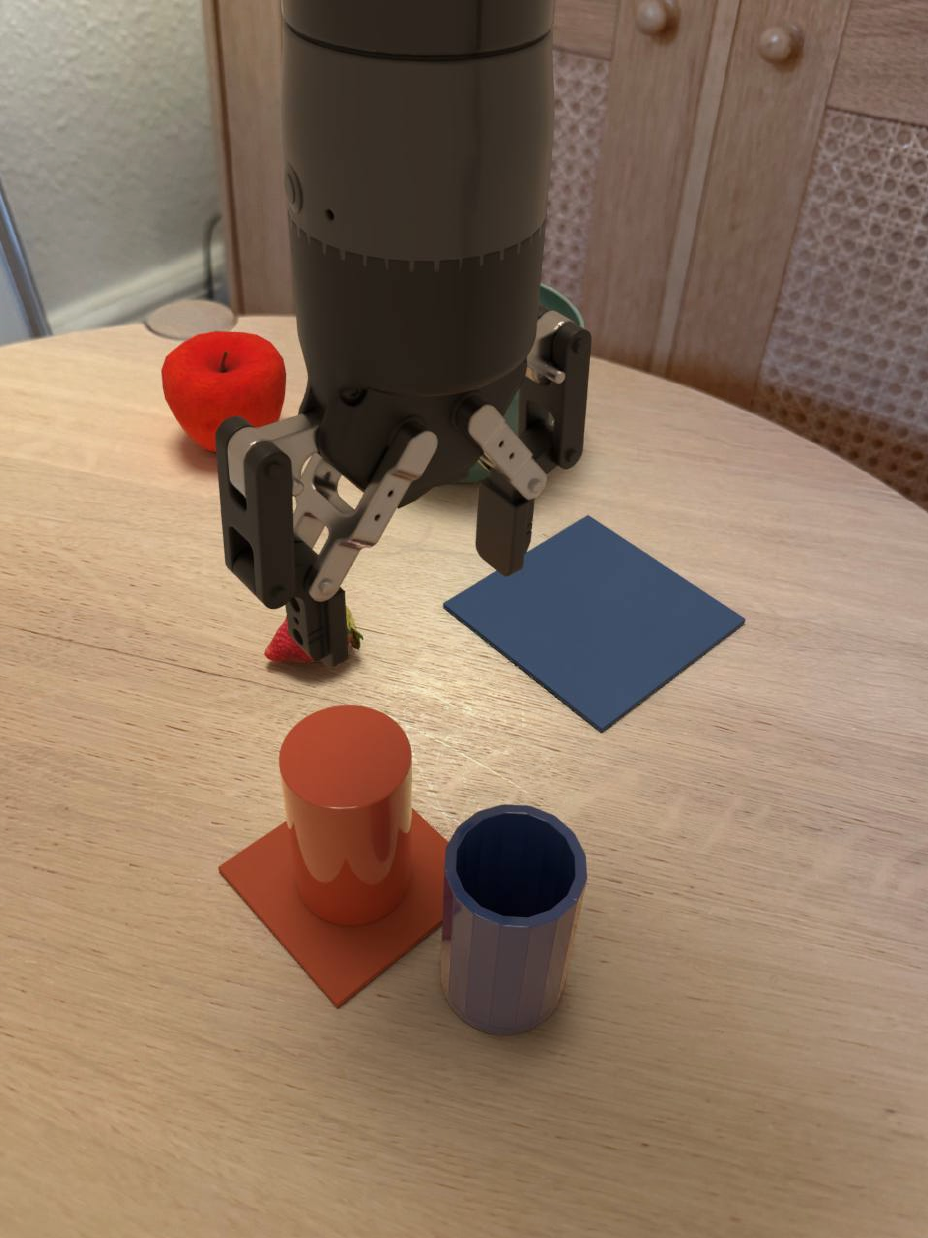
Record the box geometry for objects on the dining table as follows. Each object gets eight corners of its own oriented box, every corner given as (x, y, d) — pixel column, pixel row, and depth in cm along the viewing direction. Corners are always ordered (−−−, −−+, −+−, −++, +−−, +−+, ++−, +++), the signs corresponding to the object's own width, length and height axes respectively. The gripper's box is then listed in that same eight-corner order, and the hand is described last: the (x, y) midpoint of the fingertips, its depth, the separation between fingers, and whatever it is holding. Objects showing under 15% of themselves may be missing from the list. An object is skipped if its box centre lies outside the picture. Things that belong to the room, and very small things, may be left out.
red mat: (489, 885, 56) (490, 881, 56) (337, 1008, 51) (337, 1004, 51) (367, 769, 61) (367, 764, 61) (218, 871, 56) (217, 867, 56)
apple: (196, 489, 79) (180, 398, 73) (158, 426, 84) (140, 336, 78) (310, 456, 82) (303, 366, 76) (266, 398, 87) (256, 309, 82)
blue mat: (744, 623, 71) (746, 618, 70) (601, 733, 64) (602, 728, 63) (587, 518, 78) (588, 514, 77) (442, 607, 71) (442, 603, 71)
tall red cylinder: (435, 878, 56) (439, 759, 49) (344, 949, 53) (333, 833, 46) (362, 806, 59) (355, 684, 52) (272, 869, 56) (252, 749, 49)
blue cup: (588, 980, 53) (616, 868, 46) (500, 1062, 50) (515, 955, 43) (502, 898, 56) (516, 781, 49) (415, 970, 53) (415, 857, 46)
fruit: (263, 637, 68) (254, 579, 65) (357, 626, 69) (354, 568, 66) (267, 687, 65) (259, 629, 62) (366, 675, 66) (363, 617, 63)
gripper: (276, 313, 26) (317, 752, 37) (682, 179, 32) (613, 583, 44) (129, 206, 30) (206, 630, 41) (517, 107, 37) (492, 493, 48)
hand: (416, 605), depth 42 cm, fingers open, 8 cm apart
